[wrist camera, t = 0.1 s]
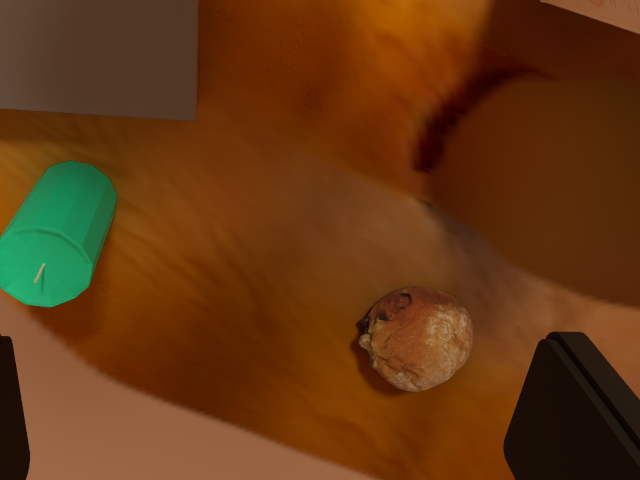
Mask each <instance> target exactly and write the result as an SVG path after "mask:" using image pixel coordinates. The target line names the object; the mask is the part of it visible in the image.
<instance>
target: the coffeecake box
mask: <svg viewBox="0 0 640 480" xmlns="http://www.w3.org/2000/svg"><path fill="white" fill-rule="evenodd" d="M540 2H545V3H548V4H551V5H554V6H557V7H560V8H563V9H566V10H569V11H572V12H575V13H578V14H581V15H584V16H587V17H590V18H593V19H596V20H599V21H602V22H605V23H608V24H611V25H614V26H617V27H619V28H622V29H625V30H628V31H631V32H634V33H637V34H640V0H540Z"/></svg>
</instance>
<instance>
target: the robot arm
mask: <svg viewBox="0 0 640 480" xmlns="http://www.w3.org/2000/svg"><path fill="white" fill-rule="evenodd" d="M504 455H505V459H506V461H507V463H508V465H509V467H510V469H511V471H512V473H513V475H514V477H515V480H640V400H639V399H638V397H637V396H636V395H635V394H634V393H633V391H632V390H631V389H630V388H629V386H628V385H627V384H626V383H625V382H624V380H623V379H622V378H621V377H620V376H619V374H618V373H617V372H616V371H615V369H614V368H613V367H612V366H611V365H610V363H609V362H608V361H607V360H606V358H605V357H604V356H603V355H602V354H601V352H600V351H599V350H598V349H597V348H596V346H595V345H594V344H593V343H592V341H591V340H590V339H589V338H588V337H587V336H586V335H585V334H584V333H581V332H551V333H549V334H548V335H547V337H546V339H543V340H541V341H540V342H539V343H538V345H537V348H536V351H535V353H534V356H533V359H532V362H531V365H530V368H529V371H528V374H527V376H526V379H525V382H524V385H523V388H522V391H521V394H520V396H519V399H518V402H517V405H516V408H515V411H514V414H513V417H512V419H511V422H510V425H509V428H508V431H507V434H506V437H505V440H504ZM29 463H30V450H29V444H28V437H27V431H26V425H25V419H24V412H23V407H22V400H21V394H20V387H19V381H18V375H17V368H16V362H15V357H14V350H13V344H12V340H11V338H10V337H8V336H1V335H0V480H26V477H27V474H28V469H29Z"/></svg>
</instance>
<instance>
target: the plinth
mask: <svg viewBox="0 0 640 480" xmlns="http://www.w3.org/2000/svg"><path fill="white" fill-rule="evenodd" d="M199 19H200V0H0V109H15V110H31V111H46V112H61V113H76V114H91V115H106V116H121V117H136V118H151V119H167V120H182V121H196V115H197V107H198V73H199Z"/></svg>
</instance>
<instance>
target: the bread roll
mask: <svg viewBox="0 0 640 480" xmlns="http://www.w3.org/2000/svg"><path fill="white" fill-rule="evenodd" d="M360 323H361V325H362V326H363V328H364V330H365V334H364V335H362V336H361V339H359V344H360V346H361V347H363V348H365V349H367V351H368V354H369V360H370V366H371V367H372V368H373V369H375V370H376V371H377V372H378V373H379V375H380V376H381V377H382V378H384V379H385V380H386V381H387V382H389V383H390V384H392V385H393V386H395V387H397V388H399V389H402V390H406V391H410V392H419V391H424V390H426V389H429V388H432V387H435V386H436V385H438V384H441V383H443V382H444V381H446V380H448V379H449V378H450V377H451V376H452V375H453V374H454V373H455V372H456V371H457V370H458V369H459V368H460V367H461V366H462V365H463V364H464V363H465V362H466V360H467V359H468V357H469V355H470V353H471V350H472V346H473V341H474V329H473V324H472V320H471V317H470V315H469V314H468V312H467V310H466V309H465V308H464V306H463V305H462V304H461V303H460V302H459V301H458V300H457V299H456V298H454V297H453V296H452V295H450V294H448V293H445V292H441V291H439V290H433V289H431V288H424V287H418V286H412V287H408V288H403V289H400V290H396V291H393V292H391V293H389V294H388V295H386V296H385V297H383V298H382V299H380V300H379V301H378V302H377V303H376V304H375V306H374V307H373V308H372V310H371V311H370V313H369V314H368V316H367V317H365V318H363V319H362V320H361V322H360Z"/></svg>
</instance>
